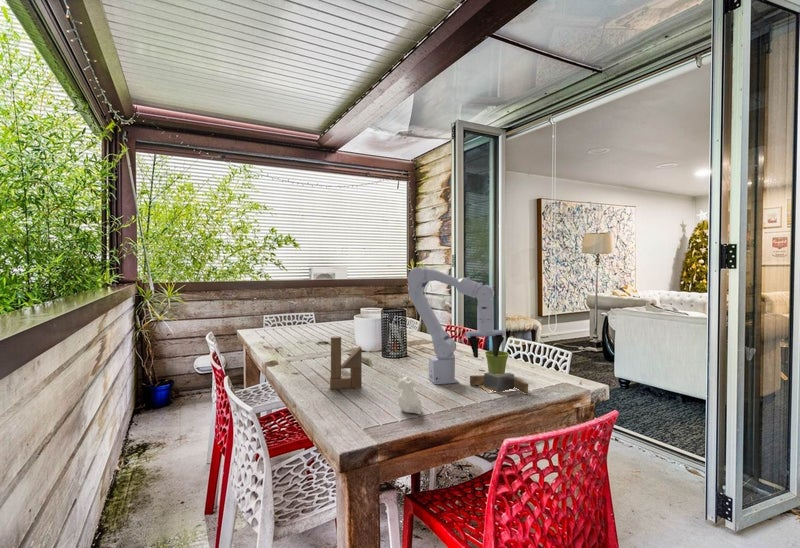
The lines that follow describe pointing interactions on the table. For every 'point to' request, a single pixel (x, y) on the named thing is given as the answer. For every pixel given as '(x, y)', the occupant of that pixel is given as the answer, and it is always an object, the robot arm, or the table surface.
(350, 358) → the brown angular piece
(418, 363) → the table surface
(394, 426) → the table surface
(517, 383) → the walls
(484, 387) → the pad
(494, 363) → the plant pot
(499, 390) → the bracket
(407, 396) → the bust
